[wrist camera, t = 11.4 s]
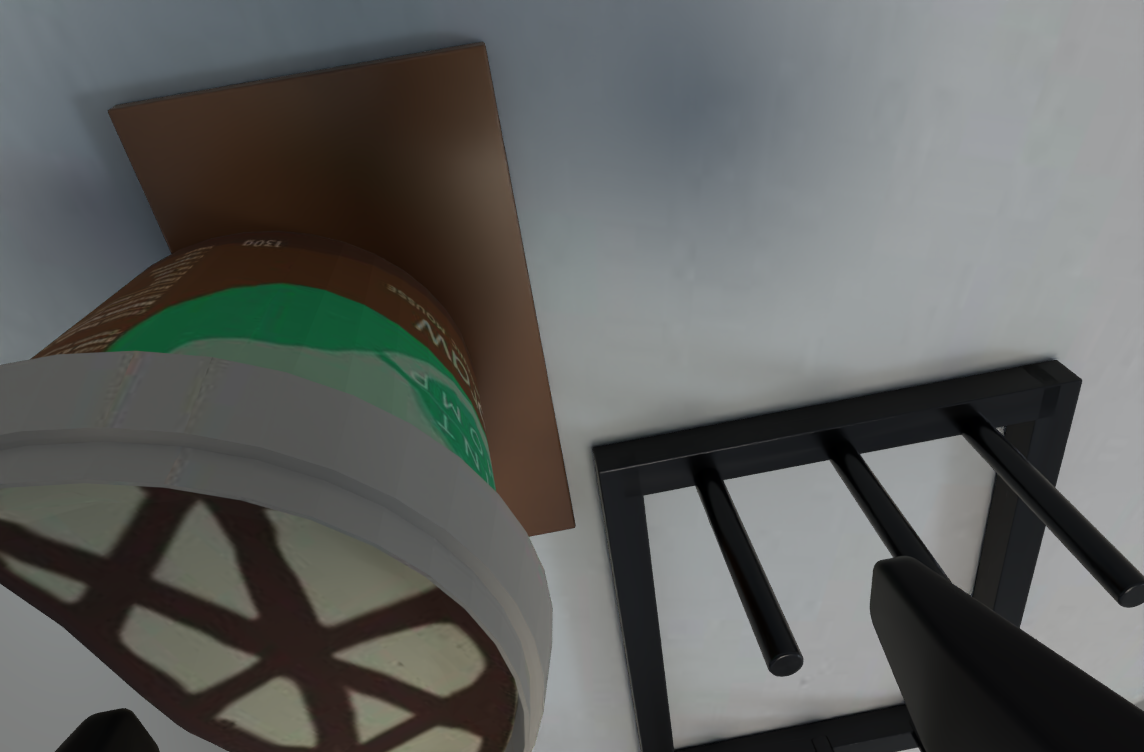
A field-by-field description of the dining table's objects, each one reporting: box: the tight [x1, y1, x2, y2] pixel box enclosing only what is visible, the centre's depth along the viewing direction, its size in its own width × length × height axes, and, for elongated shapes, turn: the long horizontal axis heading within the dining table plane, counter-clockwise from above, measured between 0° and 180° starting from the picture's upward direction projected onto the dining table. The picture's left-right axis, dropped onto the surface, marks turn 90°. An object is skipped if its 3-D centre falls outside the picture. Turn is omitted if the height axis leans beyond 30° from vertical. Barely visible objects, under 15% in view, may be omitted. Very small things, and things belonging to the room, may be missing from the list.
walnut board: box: [108, 42, 576, 537], centre depth 20 cm, size 8×14×1 cm, turn 8°
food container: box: [0, 231, 553, 752], centre depth 16 cm, size 12×6×10 cm, turn 30°
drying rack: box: [592, 360, 1144, 752], centre depth 25 cm, size 14×17×8 cm
